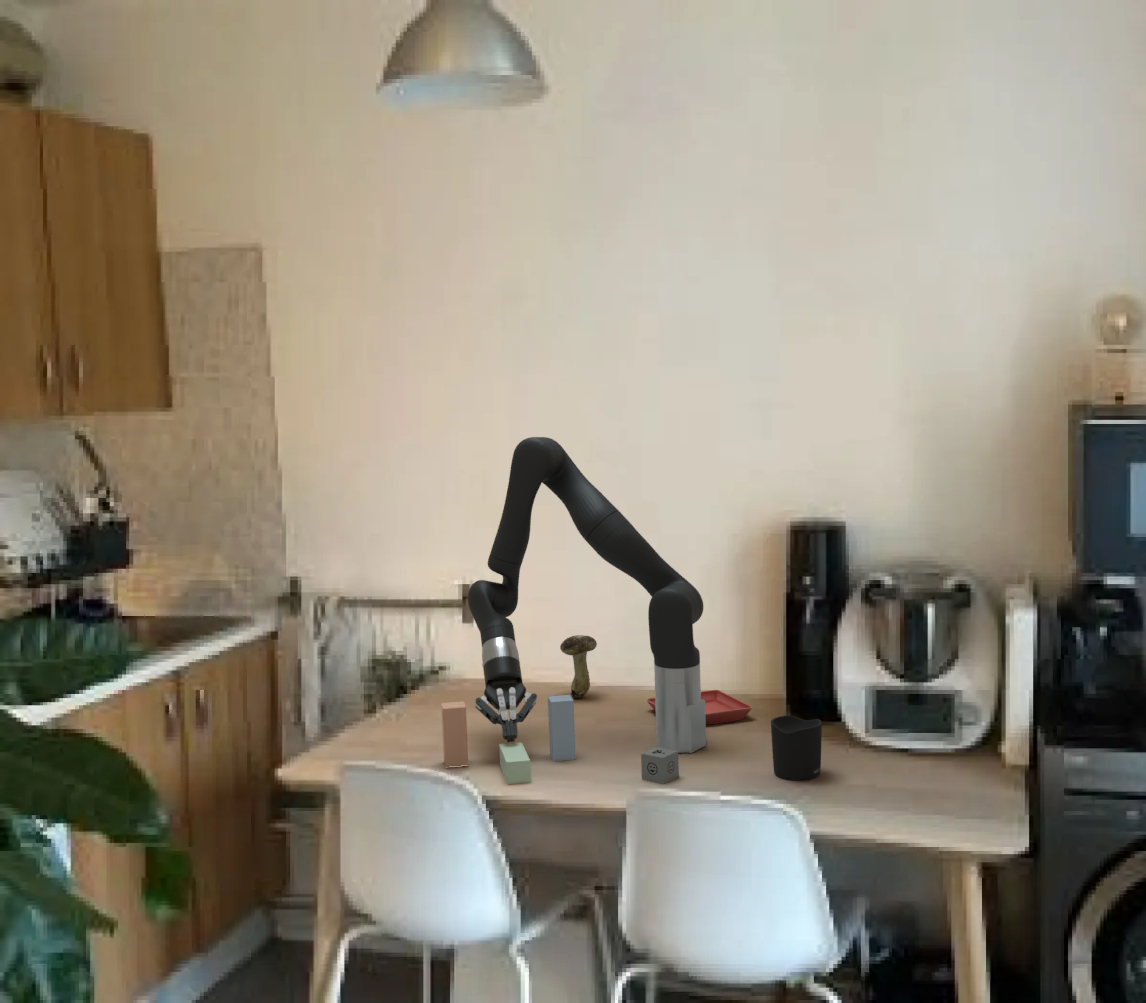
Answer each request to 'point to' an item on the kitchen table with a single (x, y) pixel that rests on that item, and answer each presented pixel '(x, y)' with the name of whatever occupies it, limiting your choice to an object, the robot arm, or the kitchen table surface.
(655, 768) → the dice cube
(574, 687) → the mushroom
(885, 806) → the kitchen table surface
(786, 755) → the pen holder
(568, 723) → the slate blue block
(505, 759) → the sage green block
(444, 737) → the terracotta block
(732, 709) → the red square tray
